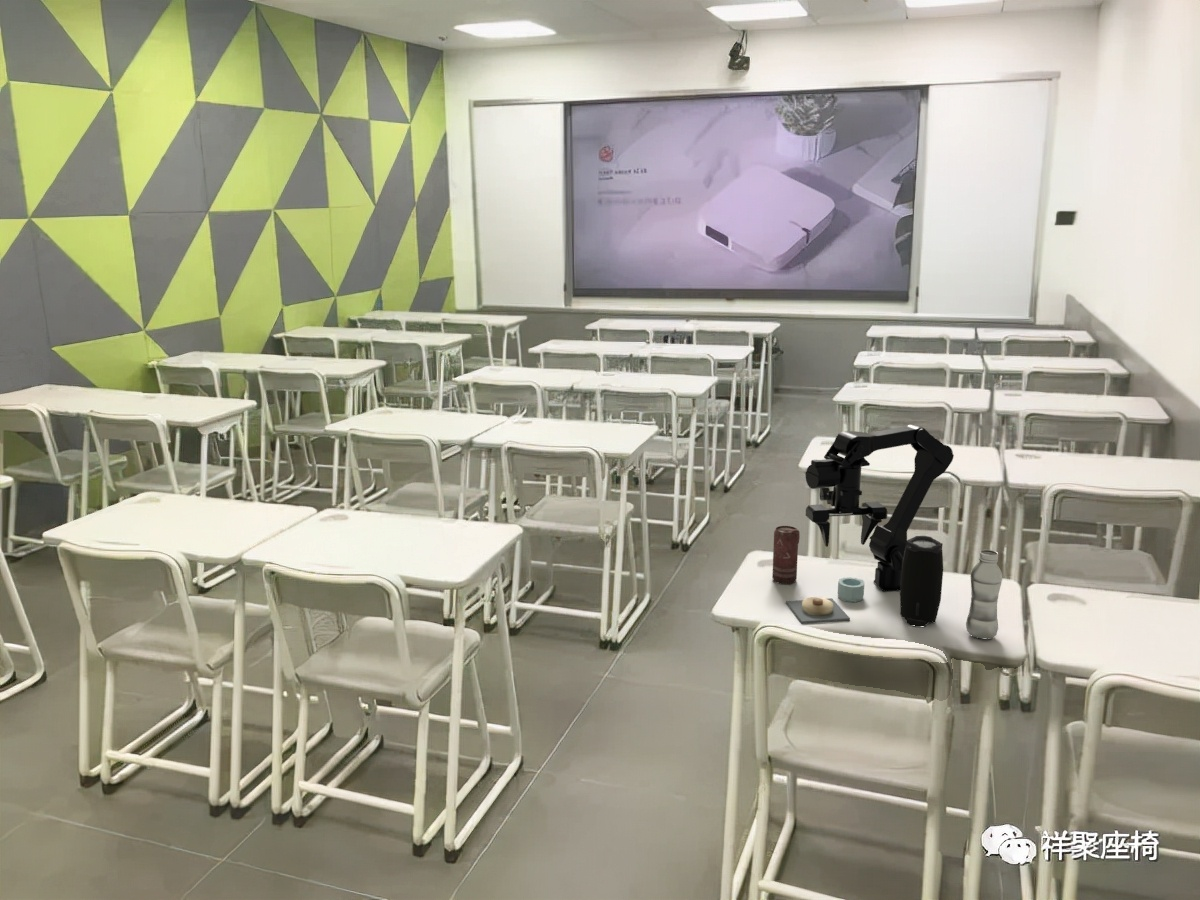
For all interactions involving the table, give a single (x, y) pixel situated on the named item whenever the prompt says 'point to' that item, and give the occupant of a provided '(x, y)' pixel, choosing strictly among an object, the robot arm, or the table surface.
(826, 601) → the lid
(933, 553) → the portable speaker
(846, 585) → the bowl
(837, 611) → the mat
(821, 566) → the table surface
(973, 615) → the plastic bottle
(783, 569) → the can
